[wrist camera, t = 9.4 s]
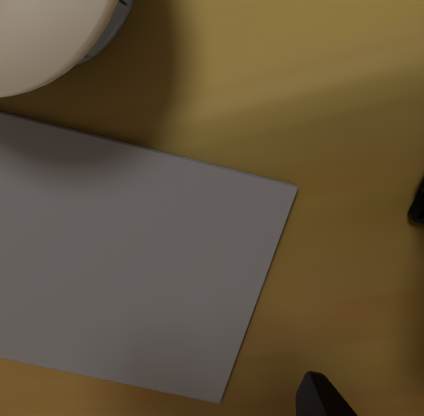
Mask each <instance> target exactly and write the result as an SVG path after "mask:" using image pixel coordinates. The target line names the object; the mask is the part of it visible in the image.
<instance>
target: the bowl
mask: <svg viewBox="0 0 424 416" xmlns="http://www.w3.org/2000/svg"><path fill="white" fill-rule="evenodd" d="M133 3H134V0H119V1H118V3H117V5H116V8H115V10H114V12H113V14H112V17H111V19H110V21H109V23H108V24H107V26H106V28H105V29H104V31H103V33H102V34H101V36H100V37H99V39H98V41H97V42H96V43H95V44H94V46H93V47H92V48H91V49H90V50H89V52H88V53H87V54H86V55H85V56H84V58H83V59H82V60H80V61H79V62H78V63H77V64H76V65H75V66H78V65H80V64H82V63H85V62H87V61H88V60H90V59H91V58H93V57H95V56H96V55H98V54H99V53H100V52H101V51H102V50H104V49H105V48H106V47H107V46H108V45H109V44H110V43H111V42H112V40H113V39H114V38H115V37H116V36H117V34H118V33H119V31H120V30H121V28H122V27H123V25H124V24H125V22H126V20H127V17H128V15H129V13H130V11H131V9H132V6H133ZM75 66H74V67H75Z"/></svg>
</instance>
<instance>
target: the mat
mask: <svg viewBox="0 0 424 416" xmlns="http://www.w3.org/2000/svg"><path fill="white" fill-rule="evenodd" d="M297 189H298V187H297V185H294V184H290V183H286V182H282V181H278V180H274V179H270V178H266V177H262V176H258V175H254V174H250V173H246V172H242V171H238V170H234V169H230V168H226V167H222V166H218V165H214V164H210V163H206V162H202V161H198V160H194V159H190V158H186V157H182V156H178V155H174V154H170V153H166V152H162V151H158V150H154V149H150V148H146V147H142V146H138V145H134V144H130V143H126V142H122V141H118V140H114V139H110V138H106V137H102V136H98V135H94V134H90V133H86V132H82V131H78V130H74V129H70V128H66V127H62V126H58V125H54V124H50V123H46V122H42V121H38V120H34V119H30V118H26V117H22V116H18V115H14V114H10V113H6V112H2V111H0V358H4V359H9V360H14V361H18V362H23V363H28V364H33V365H37V366H42V367H47V368H52V369H56V370H61V371H66V372H70V373H75V374H80V375H85V376H89V377H94V378H99V379H104V380H108V381H113V382H118V383H123V384H127V385H132V386H137V387H142V388H146V389H151V390H156V391H161V392H165V393H170V394H175V395H180V396H184V397H189V398H194V399H199V400H203V401H208V402H213V403H218V404H220V401H221V398H222V396H223V393H224V390H225V387H226V384H227V382H228V379H229V376H230V373H231V371H232V368H233V365H234V362H235V360H236V357H237V354H238V351H239V349H240V346H241V343H242V340H243V338H244V335H245V332H246V329H247V327H248V324H249V321H250V318H251V316H252V313H253V310H254V307H255V305H256V302H257V299H258V296H259V294H260V291H261V288H262V285H263V283H264V280H265V277H266V274H267V272H268V269H269V266H270V263H271V261H272V258H273V255H274V252H275V250H276V247H277V244H278V241H279V239H280V236H281V233H282V230H283V228H284V225H285V222H286V219H287V217H288V214H289V211H290V208H291V206H292V203H293V200H294V197H295V194H296V192H297Z"/></svg>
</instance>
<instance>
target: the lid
mask: <svg viewBox="0 0 424 416" xmlns="http://www.w3.org/2000/svg"><path fill="white" fill-rule="evenodd" d="M118 1H119V0H0V97H8V96H15V95H19V94H22V93H26V92H30V91H33V90H35V89H38V88H40V87H42V86H45V85H47V84H49V83H51V82H53V81H54V80H56V79H57V78H59V77H61V76H62V75H64V74H65V73H67V72H68V71H69V70H70V69H71V68H73V67H74V66H75V65H76V64H77V63H78V62H79V61H80V60H82V59H83V58H84V56H85V55H86V54H87V53H88V52H89V50H90V49H91V48H92V47H93V46H94V44H95V43H96V42H97V41H98V39H99V37H100V36H101V34H102V33H103V31H104V29H105V28H106V26H107V24H108V23H109V21H110V19H111V17H112V14H113V12H114V10H115V8H116V5H117V3H118Z"/></svg>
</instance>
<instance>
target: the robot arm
mask: <svg viewBox="0 0 424 416" xmlns="http://www.w3.org/2000/svg"><path fill="white" fill-rule="evenodd" d="M419 211H422V213H421V214H420V215H419V216H417V213H418V212H419ZM409 216H410V218H411V219H413V220H414V221H415V222H418V223H422V224H424V180H423V182H422V184H421V188H420V190H419V192H418V194H417V196H416V198H415V200H414V202H413V204H412V206H411V208H410V210H409ZM296 416H357V414H356V413H355V412H354V411H353V409H352V408H351V407H350V406H349V404H348V403H347V402H346V401H345V400H344V398H343V397H342V396H341V395H340V393H339V392H338V391H337V390H336V388H335V387H334V386H333V385H332V383H331V382H330V381H329V380H328V379H327V377H326V376H325V375H324V374H322V373H318V372H313V371H308V372H307V373H306V374H305V376H304V378H303V380H302V382H301V384H300V386H299V388H298V390H297V393H296Z"/></svg>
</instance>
